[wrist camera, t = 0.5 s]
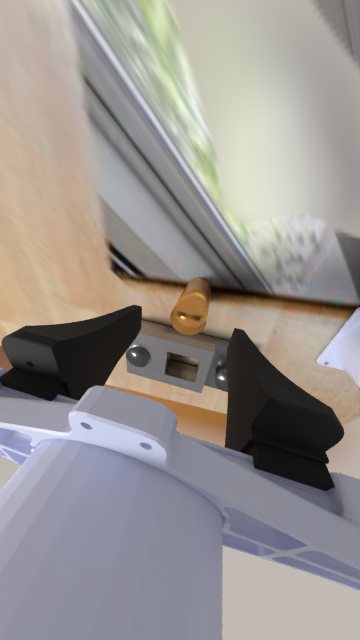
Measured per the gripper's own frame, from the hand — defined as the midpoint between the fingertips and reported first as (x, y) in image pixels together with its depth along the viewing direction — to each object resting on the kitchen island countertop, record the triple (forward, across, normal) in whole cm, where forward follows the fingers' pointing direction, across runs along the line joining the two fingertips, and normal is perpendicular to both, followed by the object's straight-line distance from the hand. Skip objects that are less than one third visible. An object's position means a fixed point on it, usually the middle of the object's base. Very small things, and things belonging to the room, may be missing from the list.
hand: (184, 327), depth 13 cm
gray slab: (+8, 0, +10) cm, 13 cm away
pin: (+8, 0, 0) cm, 8 cm away
